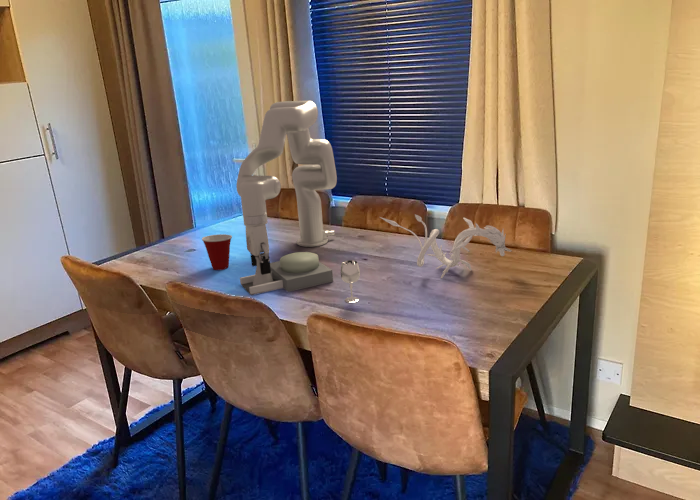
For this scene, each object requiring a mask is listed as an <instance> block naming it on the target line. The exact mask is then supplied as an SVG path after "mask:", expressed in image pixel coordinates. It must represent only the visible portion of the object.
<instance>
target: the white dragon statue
mask: <svg viewBox="0 0 700 500" xmlns="http://www.w3.org/2000/svg"><path fill="white" fill-rule="evenodd" d="M379 218H380V219H382V220H383V221H384V222H386V223H389V224H390V225H392V227H398V228H401V229H404V230H405V231H407V232H409V233H411V234H412V235H413V236H414V238H416V239H417V242H418V244H419V246H420V253H419V254H418V257H417V261H416V265H417V267H421V268H422V267H423V266H424V264H425V254H426V253H427V251H428V250H429V248H431V250H432V252H433V253H427V254H426V255H427V256H431V257H435V258H436V259H438V260H439V261H440V263H442V264H440V265H439V266H438V267H436V268H435V270H438V269H440V268H441V267H443V266H446V267H445V269H444V270H443V271H442V274H441V276H440V279H443V278H444V276H445V275H446V274H447V273H448V272H449V270H450V269H451V268H454V267H456V266H459V267H461V266H462V265H465V267H466V268H468V270H469V271H472V270H473V269H472V267H471V263H470V262H468V261H466V260H464V259H462V258H461V257H462V256H461V249H462V250H465V251H467V252H469V253H470V252H471V251H470V250H469V248H467V247H466V246H467V245H468V244H469V243H470V241H471V240H472V239H473V237H484V238H487V240H488V241H489V243H491V244H493V245H494V246H495V254H497V252H499V255H500V257H504V256H505V255H506V253H505V252H513V250H512V249H510V248H507V247H506V245H505V244H506V235H507V234H506V233H504V229H502V231H500V229H498V228H497V227H494V226H493V225H487V226H484V227H483V228H481V227H480V226H479V224H478V223H476V222H475V226H474V224H473V221H472V220H471V219H468V218H466V217H463V220H464V222H466V224H467V225H468V228H466V229H464V230H462V231H461V232H459V233H458V235H457V236H455V240H454V242H453V246H452V249H451V250H450V252H449V253H448V255H449V256H450V257H449V258H447V257H446V254H447V251H445V252H444V251H443V250H442V248H443V247H442V244H440V248H439V245H438V243H437V237H438V236H439V235H440V230H439V229H438V228H435V229H431V231H430V234H429V236H428V229H427V225H426V223H425V222H424V221H423V220H422V219H423V218H422V217H421V216H420V215H418V214H415V213H414V218H415V219H416V221H417V222H419V223H421V224H422V225H423V226H424V235H425V237H424V242H423V244H422V242H421V240H420V237H418V235H417V234H416V233H415V232H413V230H411V229H408V228H407V227H404V226H401V225H399V224H398V223H397V222H396V221H394V220H391V219H388V218H385V217H381V216H379ZM451 253H452V254H451ZM459 262H460V263H461V264H462V265H461V264H459Z"/></svg>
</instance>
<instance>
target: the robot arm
mask: <svg viewBox="0 0 700 500" xmlns="http://www.w3.org/2000/svg"><path fill="white" fill-rule="evenodd" d="M318 114H319V112H318V107H317V104H316V103H315V102H313V100H293V101H292V100H287V101H276V102H274V103H272V104H271V105H270V107H269V109H268V110H267V111H266V112H265V114H264V118H263V121H262V126H261V131H260V136H259V140H258V145H257V147H255V148H254V149H253V150H252V151H251V152H250V153H249V154H248V155H247V156H246V157H245V158H244V160H243V161H242V162H241V164H240V166H239V169H238V174H237V178H236V193H237V195H238V196H239V197H240V200H241V210H242V218H243V226H245V239H246V241H245V242H246V248H247V249H246V250H247V251H248V252H249V254H250V260H251V261H250V262H251V266H252V267H257V260H256V258H255V256H257V255H259V258H260V261H261V263H260V270H261V274H262V275H264V274H268V273H271V268H270V263H271V261H270V260H271V259H270V244H269V236H268V230H267V225H266V224H268V213H267V200H270V199H271V200H272V199H274V198H276V197H277V196H279V194H280V192H281V189H282V185H281V184H282V183H281V182H280V181H281V180H280V179H278V177H276V176H274V175H253V174H254V173H255V171H257V169H259V167H262V166H263V165H265V164H266V163H269V162H272V161H273V160H275V159H277V158H279V157H280V156H281V155H282V154H283V153H284V148H285V143H286V139H287V140H288V145H289V151H290V155H291V159H292V161H293V162H294V163H295V164H296V165H297V164H298V165H299V166H296V167H295V168H294V169H293V171H292V174H291V177H292V178H291V179H292V183H293V187H294V190H295V196H296V197H295V198H296V202H297V215H298V216H297V217H298V225H299V228H298V229H299V236H300V238H298V239H297V241H296V244H297V245H298V246H300V247H306V248H309V247H310V248H311V247H313V248H314V247H319V246H323V245H325V244H327V243H328V241H329V239H328V237H329V236H335V235H336V233H335V230H334V229H333V230H328V229H326V230H325V229H324V222H323V212H322V200H321V197H320V195H319V193H318V192H317V191H318V190H319V191H321V190H332V189H334V188H335V187H336V186H337V183H338V181H337V180H338V177H337V170H336V169H337V168H336V164H335V163H336V162H335V158H334V156H335V155H334V150H333V147H332V145H331V143H330V141H328V140H327V139H324V138H312V137H311V133H310V129H309V128H311V126H313V125H314V124H315V123H316V121H317V119H318V116H319V115H318ZM262 256H263V259H262Z"/></svg>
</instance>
